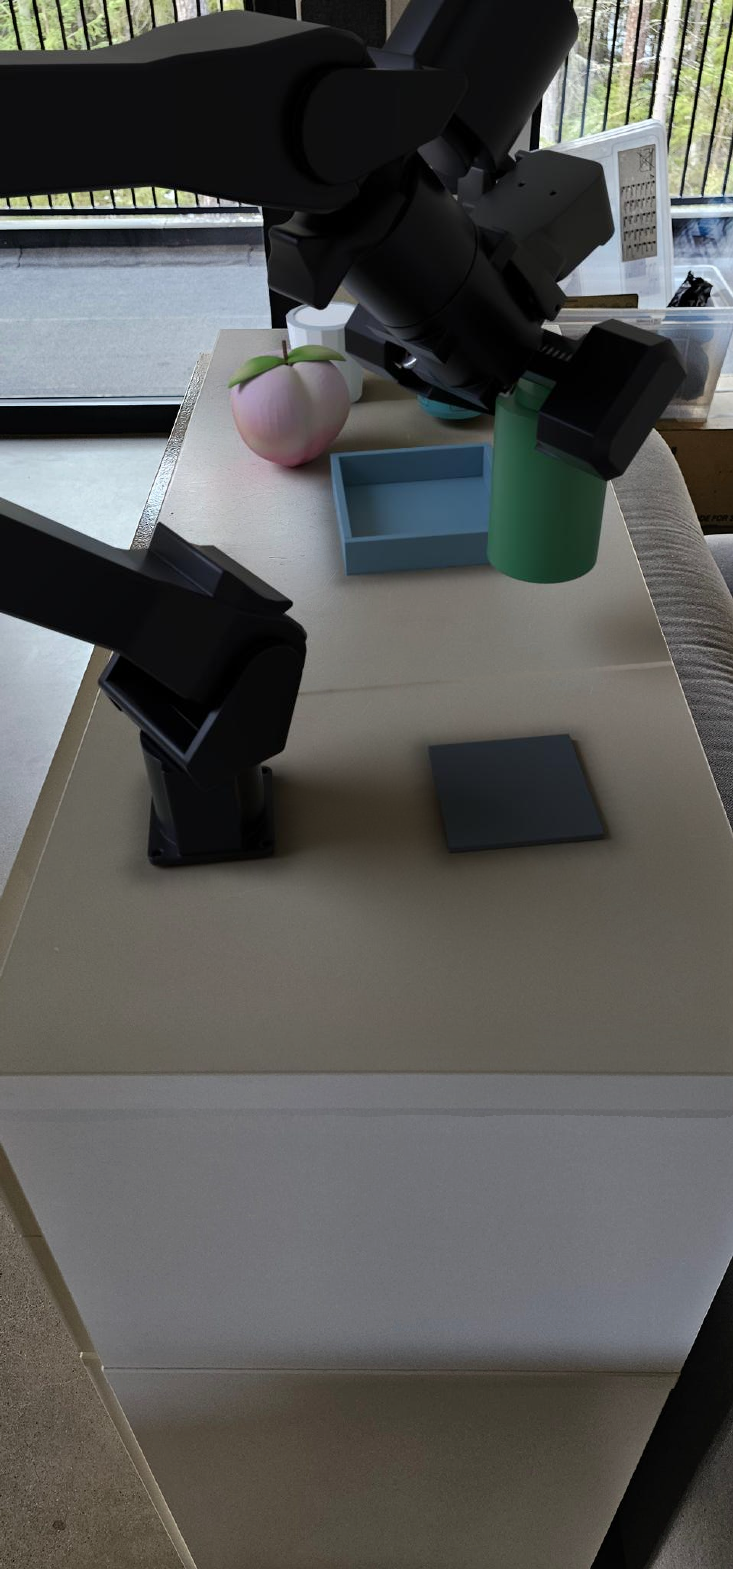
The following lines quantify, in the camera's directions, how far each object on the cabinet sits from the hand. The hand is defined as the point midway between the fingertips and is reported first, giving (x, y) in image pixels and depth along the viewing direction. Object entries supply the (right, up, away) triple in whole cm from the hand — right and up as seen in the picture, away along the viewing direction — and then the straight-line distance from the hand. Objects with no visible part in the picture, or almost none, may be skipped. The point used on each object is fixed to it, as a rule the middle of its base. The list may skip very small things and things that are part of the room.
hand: (570, 434), depth 60 cm
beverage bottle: (-4, +11, +33) cm, 35 cm away
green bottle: (-1, -6, +4) cm, 7 cm away
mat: (-3, -20, -1) cm, 20 cm away
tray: (-7, 0, +20) cm, 21 cm away
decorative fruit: (-17, +6, +28) cm, 33 cm away
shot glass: (-14, +15, +37) cm, 43 cm away
